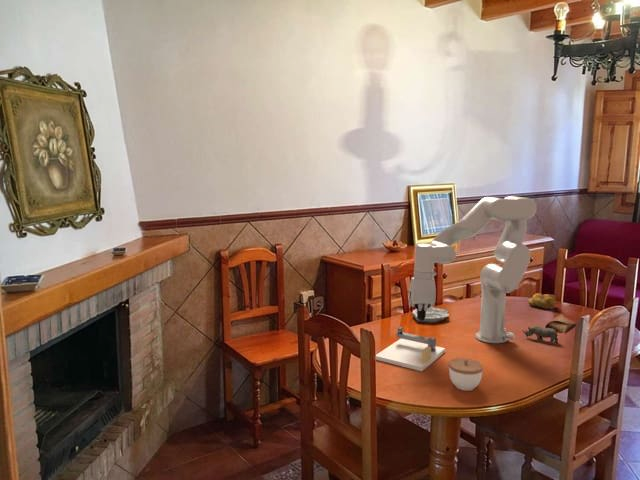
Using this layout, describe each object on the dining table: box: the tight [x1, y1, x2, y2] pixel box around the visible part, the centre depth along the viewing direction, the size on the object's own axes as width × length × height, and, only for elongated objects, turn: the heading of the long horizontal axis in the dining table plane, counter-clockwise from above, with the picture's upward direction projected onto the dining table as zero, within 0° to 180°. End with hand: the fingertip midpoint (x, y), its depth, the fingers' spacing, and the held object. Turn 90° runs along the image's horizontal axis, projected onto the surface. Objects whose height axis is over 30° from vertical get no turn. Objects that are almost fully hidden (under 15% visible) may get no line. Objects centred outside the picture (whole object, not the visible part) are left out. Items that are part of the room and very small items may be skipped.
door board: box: [376, 338, 446, 372], centre depth 192 cm, size 19×22×6 cm
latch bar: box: [395, 326, 437, 351], centre depth 197 cm, size 16×3×6 cm, turn 55°
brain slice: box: [412, 305, 450, 324], centre depth 238 cm, size 20×17×3 cm
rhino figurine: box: [522, 325, 559, 345], centre depth 207 cm, size 4×14×6 cm, turn 56°
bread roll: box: [527, 292, 556, 310], centre depth 253 cm, size 13×10×8 cm
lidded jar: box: [448, 357, 484, 392], centre depth 166 cm, size 11×11×9 cm
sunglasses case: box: [545, 314, 577, 335], centre depth 224 cm, size 18×7×7 cm, turn 139°
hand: (421, 319), depth 202 cm, fingers closed
